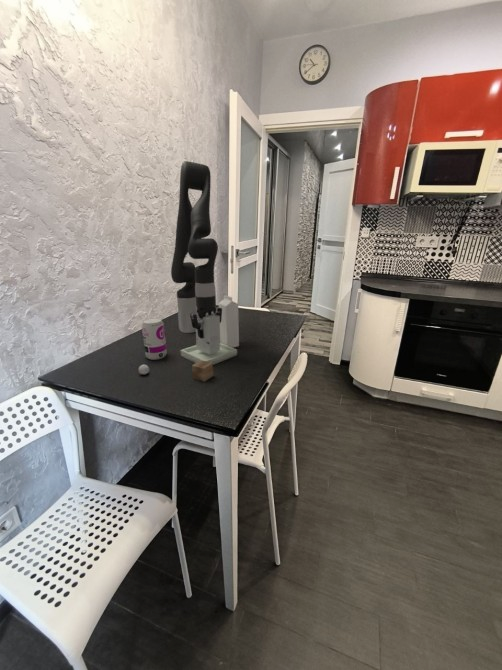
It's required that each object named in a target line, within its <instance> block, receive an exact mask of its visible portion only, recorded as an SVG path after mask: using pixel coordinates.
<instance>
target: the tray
mask: <svg viewBox="0 0 502 670" xmlns="http://www.w3.org/2000/svg"><path fill="white" fill-rule="evenodd" d="M180 355H181V357H182V358H185V359H187V360H188V361H191V362H193V363H194V364H195V363H197V362H199V361H200V360H203V361H207V362H211V363H213V366H214V365H216V364H218V363H221V362H224V361H226V360H229V359H232V358H233V357H236V356H238V349H236V348H235V347H233V348H232V347H229V346H227V345H224V344H221V343H220V350H219V351H217V352H214V353H212V354H207V353H205V352H203V351H200V350H197V349H196V344H195V345H191V346H189V347H185V348H183V349H180Z"/></svg>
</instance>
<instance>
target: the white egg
mask: <svg viewBox="0 0 502 670" xmlns="http://www.w3.org/2000/svg"><path fill="white" fill-rule="evenodd" d="M149 371H150V367H149V366H148V365H147V364H141V365H139V367H138V373H139V374H140V375H142V376H143V375H146V374H148V373H149Z"/></svg>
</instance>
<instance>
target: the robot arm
mask: <svg viewBox="0 0 502 670" xmlns="http://www.w3.org/2000/svg"><path fill="white" fill-rule="evenodd" d="M211 176H212V175H211V170H210V167H209V166H208V165H207V164H203V163H197V162H193V161H187V160H184V161H183V162H182V164H181V166H180V173H179V199H178V201H179V202H178V209H177V211H178V212H177V220H176V227H175V228H176V230H175V242H174V245H175V246H174V250H173V257H172V261H171V266H170V267H171V271H170V272H171V275H170V276H171V279H172V281H173V282H174V283H175V284H184V283H185V284H184V286H183V287H181V288H179V289H178V290H177V291H176V298H177V299H176V300H177V301H176V302H177V309H178V310H177V318H178V319H177V320H178V330H179V331H180V332H181V333H183V334H189V333H196V329H197V330H198V337H199V338H201V339H202V338H204V334H203V324H204V319H203V321H200V320H199V318H198V316H199V317H200V318H201V319H202V318H203V317H208V315H214V314H215V315H218V316H220V322H221V318H222V308H219V306H217V296H216V295H217V294H216V284H215V263H216V259H217V255H218V252H219V251H218V249H219V246H218V245H219V244H218V242H217V241H216V239H215V238H206V237H208V236H210V234H211V232H212V227H211V226H212V225H211V218H210V217H211V215H210V208H211V207H210V206H211V205H210V204H211V182H212V181H211V178H212V177H211ZM189 190H195V191H201V195H200V197H199V198H198V200H197V201H196V203H195V204H194V206H193V205H192V203H191V200H190V196H189ZM187 255H189V257H190V258H191V259H194V260H207V261H206V263H204V264H201V265H196V266H195V263H193V262H192V261H187V262H185V259H186V256H187ZM197 318H198V320H197ZM200 323H201V325H200Z"/></svg>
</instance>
